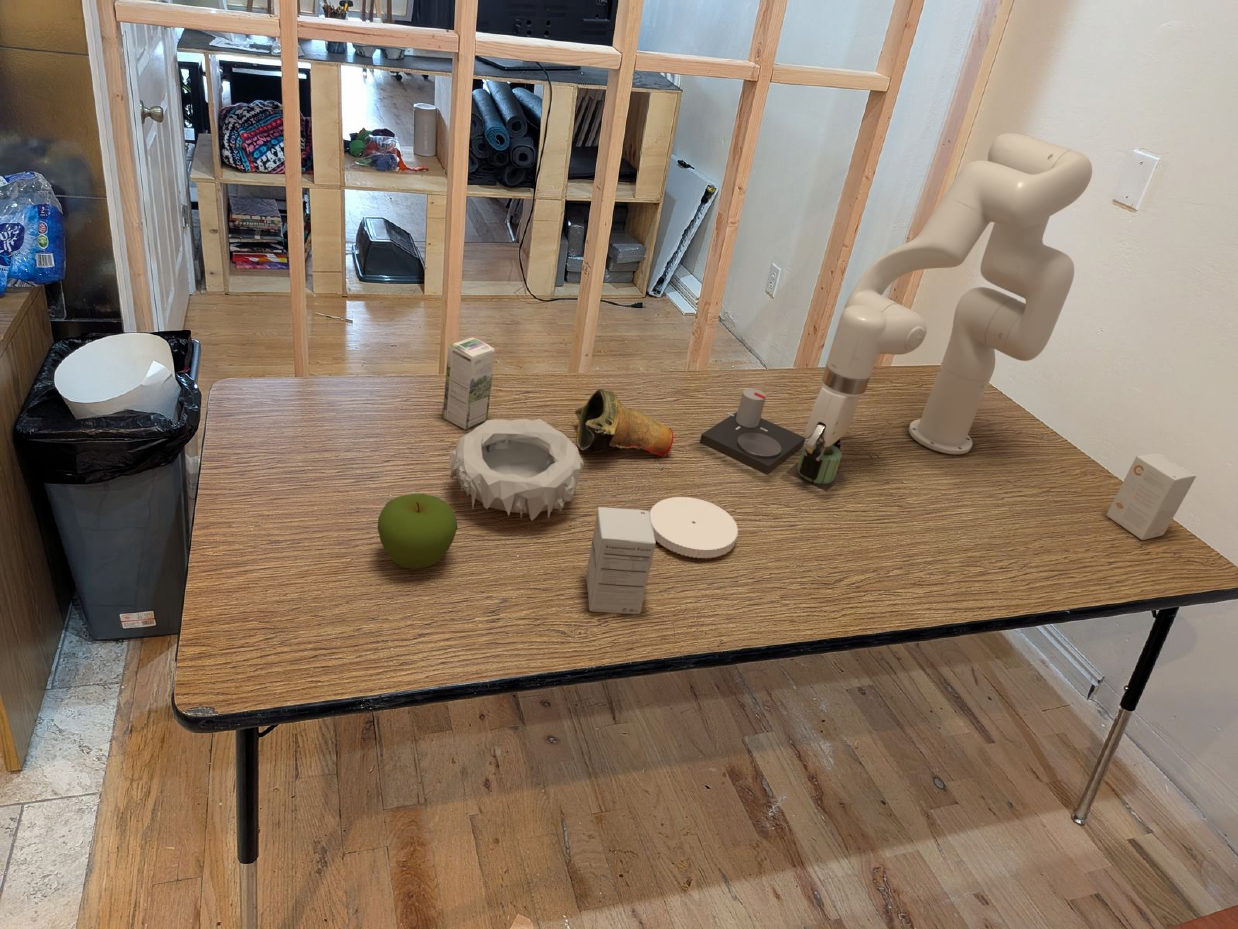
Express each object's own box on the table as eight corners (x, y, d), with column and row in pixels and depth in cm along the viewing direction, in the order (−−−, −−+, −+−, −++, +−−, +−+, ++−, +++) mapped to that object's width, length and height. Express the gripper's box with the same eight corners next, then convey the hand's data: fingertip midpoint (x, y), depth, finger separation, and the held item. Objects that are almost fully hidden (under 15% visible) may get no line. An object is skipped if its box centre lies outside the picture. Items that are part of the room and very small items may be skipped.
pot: (696, 427, 155) (602, 390, 148) (671, 488, 156) (576, 455, 150) (661, 408, 171) (574, 374, 164) (638, 464, 172) (551, 433, 166)
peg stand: (803, 462, 169) (813, 428, 165) (842, 480, 166) (854, 446, 162) (784, 477, 163) (794, 442, 159) (824, 497, 160) (836, 461, 156)
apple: (417, 596, 122) (420, 535, 117) (359, 562, 126) (359, 502, 121) (470, 559, 130) (475, 501, 125) (414, 528, 134) (417, 470, 129)
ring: (806, 459, 168) (814, 436, 165) (839, 474, 165) (847, 451, 162) (791, 472, 163) (798, 448, 160) (824, 488, 160) (832, 464, 157)
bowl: (601, 492, 150) (610, 439, 145) (540, 555, 133) (548, 498, 128) (492, 449, 156) (497, 397, 151) (421, 504, 139) (424, 448, 134)
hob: (734, 420, 179) (738, 405, 178) (802, 451, 173) (806, 436, 171) (694, 446, 168) (697, 431, 166) (765, 480, 161) (769, 465, 160)
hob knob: (731, 421, 172) (738, 391, 169) (742, 414, 175) (750, 384, 172) (751, 430, 170) (759, 400, 167) (762, 423, 173) (770, 393, 170)
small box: (1163, 536, 167) (1198, 475, 160) (1141, 541, 164) (1175, 480, 157) (1126, 510, 173) (1158, 451, 166) (1104, 515, 170) (1135, 455, 163)
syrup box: (464, 408, 166) (470, 335, 159) (488, 421, 164) (496, 347, 156) (442, 418, 162) (446, 343, 155) (466, 431, 160) (472, 355, 152)
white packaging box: (584, 577, 131) (597, 504, 124) (635, 581, 132) (651, 509, 125) (587, 612, 124) (600, 537, 118) (641, 616, 125) (657, 542, 119)
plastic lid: (745, 564, 139) (749, 551, 138) (655, 562, 136) (658, 549, 135) (721, 511, 151) (725, 498, 150) (638, 508, 148) (641, 495, 146)
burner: (750, 430, 170) (750, 428, 170) (788, 448, 166) (789, 445, 166) (728, 445, 164) (729, 442, 164) (768, 463, 160) (768, 460, 160)
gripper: (845, 357, 162) (818, 443, 171) (803, 385, 149) (776, 477, 158) (884, 373, 159) (855, 460, 168) (845, 403, 146) (815, 495, 155)
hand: (817, 467), depth 163 cm, fingers open, 7 cm apart
